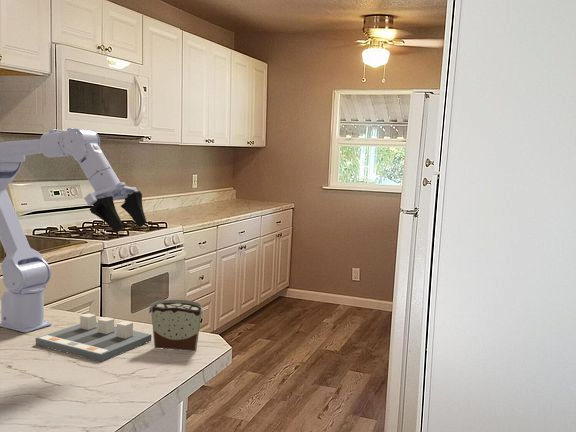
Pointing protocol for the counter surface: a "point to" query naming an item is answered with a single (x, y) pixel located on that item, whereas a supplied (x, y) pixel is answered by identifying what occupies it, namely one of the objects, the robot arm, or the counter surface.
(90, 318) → the beige small block
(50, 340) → the switch board
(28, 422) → the counter surface
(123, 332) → the tab
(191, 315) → the food container
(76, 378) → the counter surface
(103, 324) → the tab
